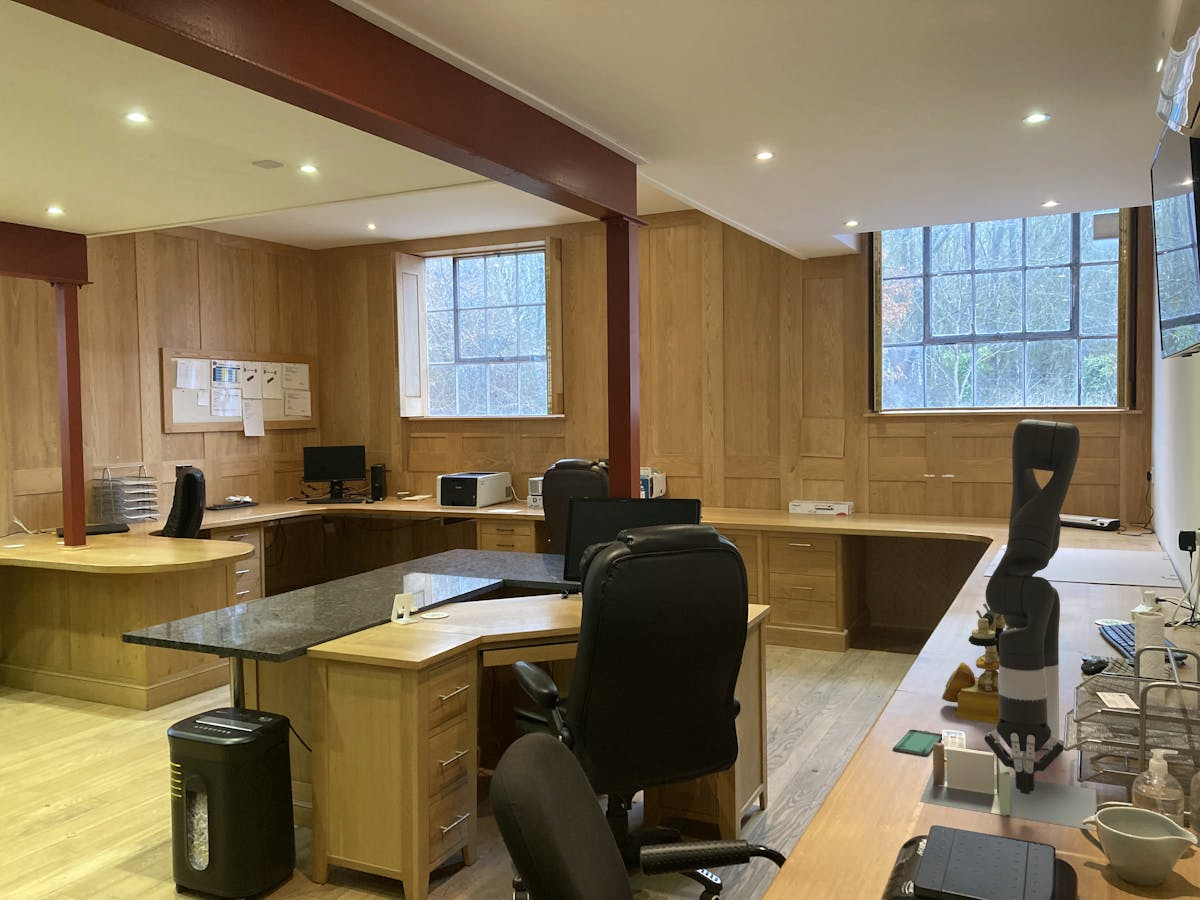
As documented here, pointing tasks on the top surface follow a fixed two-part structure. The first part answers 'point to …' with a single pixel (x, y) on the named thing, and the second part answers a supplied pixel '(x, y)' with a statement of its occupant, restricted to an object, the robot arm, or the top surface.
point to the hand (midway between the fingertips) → (1025, 792)
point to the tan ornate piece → (980, 693)
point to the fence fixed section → (964, 768)
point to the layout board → (1021, 801)
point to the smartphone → (918, 743)
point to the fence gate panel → (1004, 788)
